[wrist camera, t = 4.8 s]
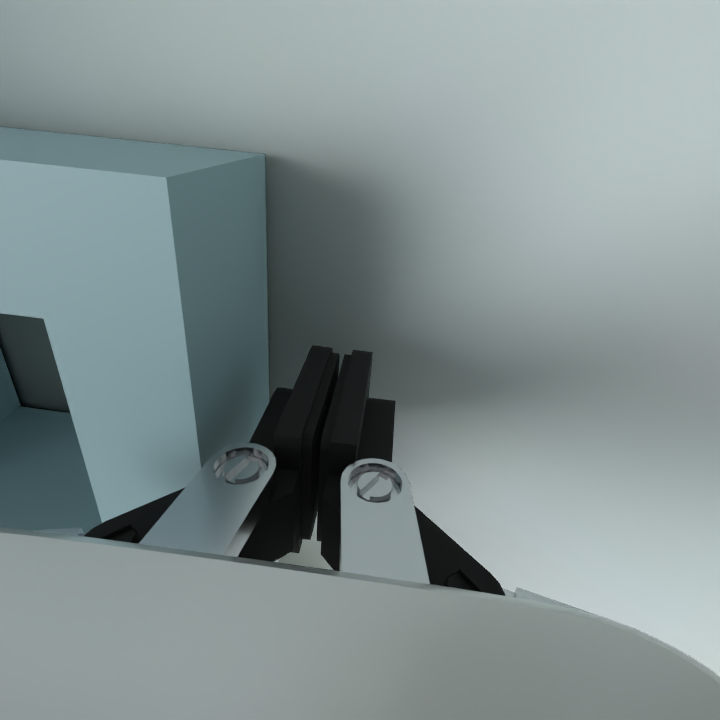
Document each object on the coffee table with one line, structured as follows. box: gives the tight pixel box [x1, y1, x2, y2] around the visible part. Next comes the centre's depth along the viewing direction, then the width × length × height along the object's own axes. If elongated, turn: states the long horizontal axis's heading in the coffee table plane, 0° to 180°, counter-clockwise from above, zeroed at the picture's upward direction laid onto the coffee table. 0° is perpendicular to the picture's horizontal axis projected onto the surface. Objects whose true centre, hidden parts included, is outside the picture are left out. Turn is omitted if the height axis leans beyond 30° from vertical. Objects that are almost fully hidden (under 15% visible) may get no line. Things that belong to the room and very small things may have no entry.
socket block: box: [0, 127, 269, 533], centre depth 12 cm, size 12×12×5 cm
